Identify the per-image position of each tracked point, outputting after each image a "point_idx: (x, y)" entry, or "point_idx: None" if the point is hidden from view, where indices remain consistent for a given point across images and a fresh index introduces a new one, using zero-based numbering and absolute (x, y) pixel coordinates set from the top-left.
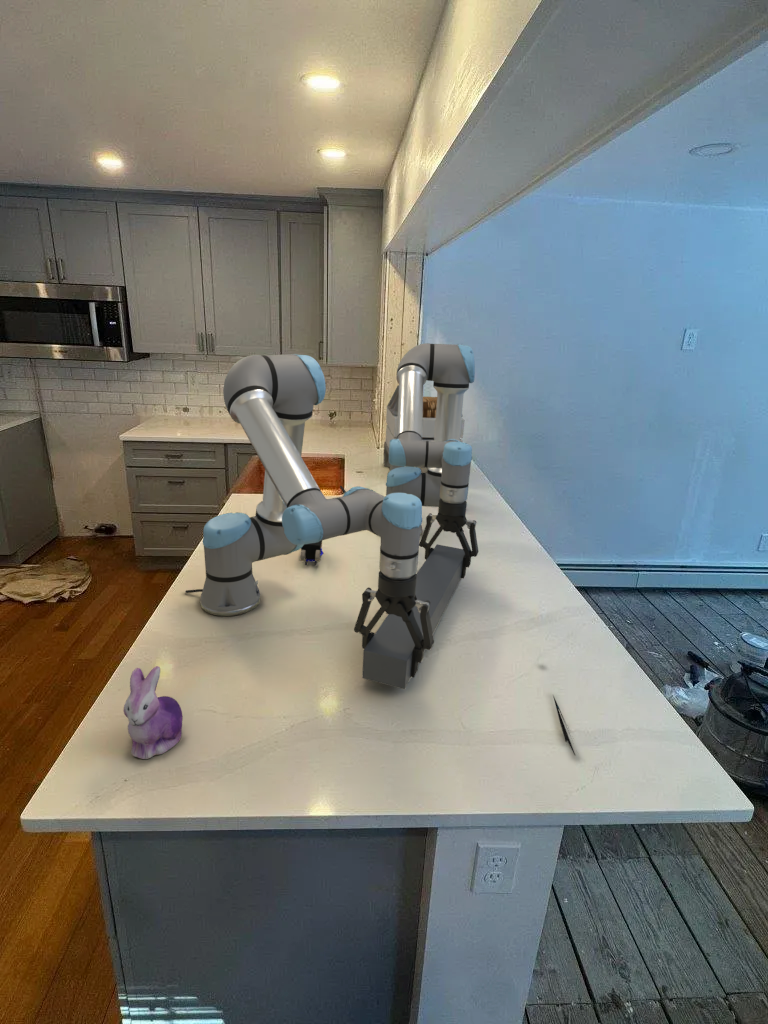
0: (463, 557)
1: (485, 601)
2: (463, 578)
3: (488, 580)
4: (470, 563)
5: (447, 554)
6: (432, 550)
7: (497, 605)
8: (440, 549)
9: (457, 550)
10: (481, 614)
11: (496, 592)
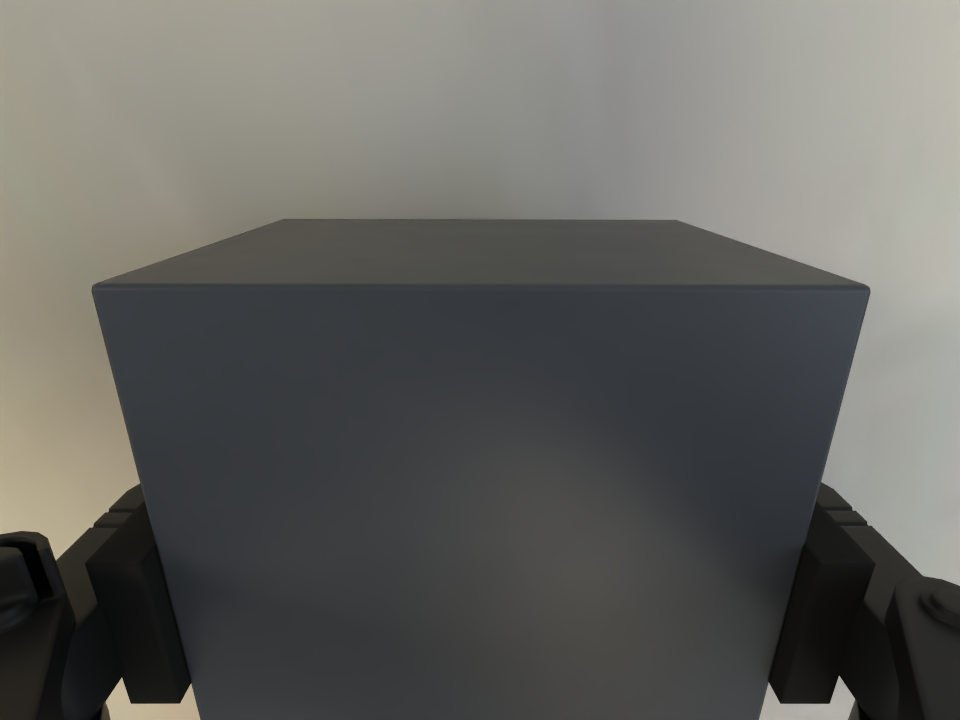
0: (786, 703)
1: (836, 488)
2: None
3: (898, 61)
4: (841, 499)
5: (479, 653)
6: (169, 604)
7: (927, 510)
8: (286, 518)
9: (635, 418)
10: None
11: (951, 306)
